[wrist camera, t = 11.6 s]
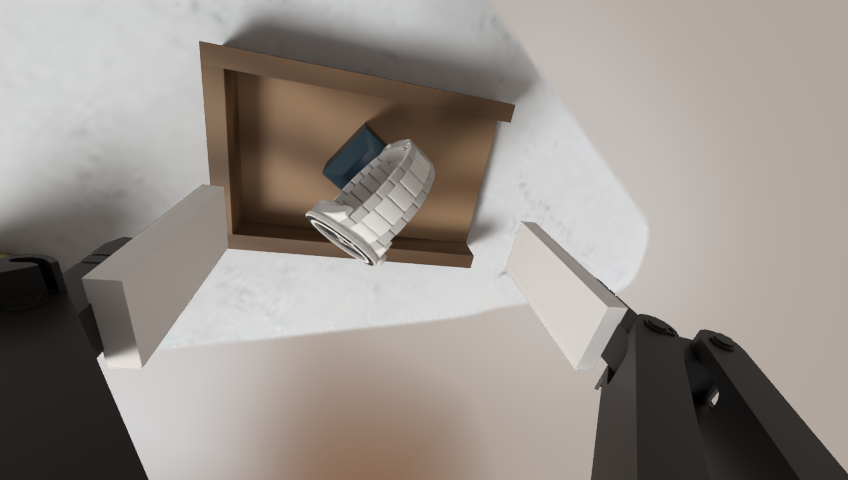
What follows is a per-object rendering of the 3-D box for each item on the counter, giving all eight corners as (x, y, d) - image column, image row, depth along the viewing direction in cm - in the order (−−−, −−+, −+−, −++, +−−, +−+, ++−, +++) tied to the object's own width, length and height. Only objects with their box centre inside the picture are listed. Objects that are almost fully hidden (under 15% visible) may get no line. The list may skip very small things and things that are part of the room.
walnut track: (221, 45, 23) (198, 41, 20) (497, 101, 27) (515, 105, 24) (231, 228, 28) (215, 247, 25) (460, 249, 33) (470, 268, 29)
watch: (309, 180, 26) (278, 243, 17) (382, 104, 25) (395, 125, 15) (362, 225, 29) (362, 304, 19) (432, 159, 27) (471, 207, 18)
